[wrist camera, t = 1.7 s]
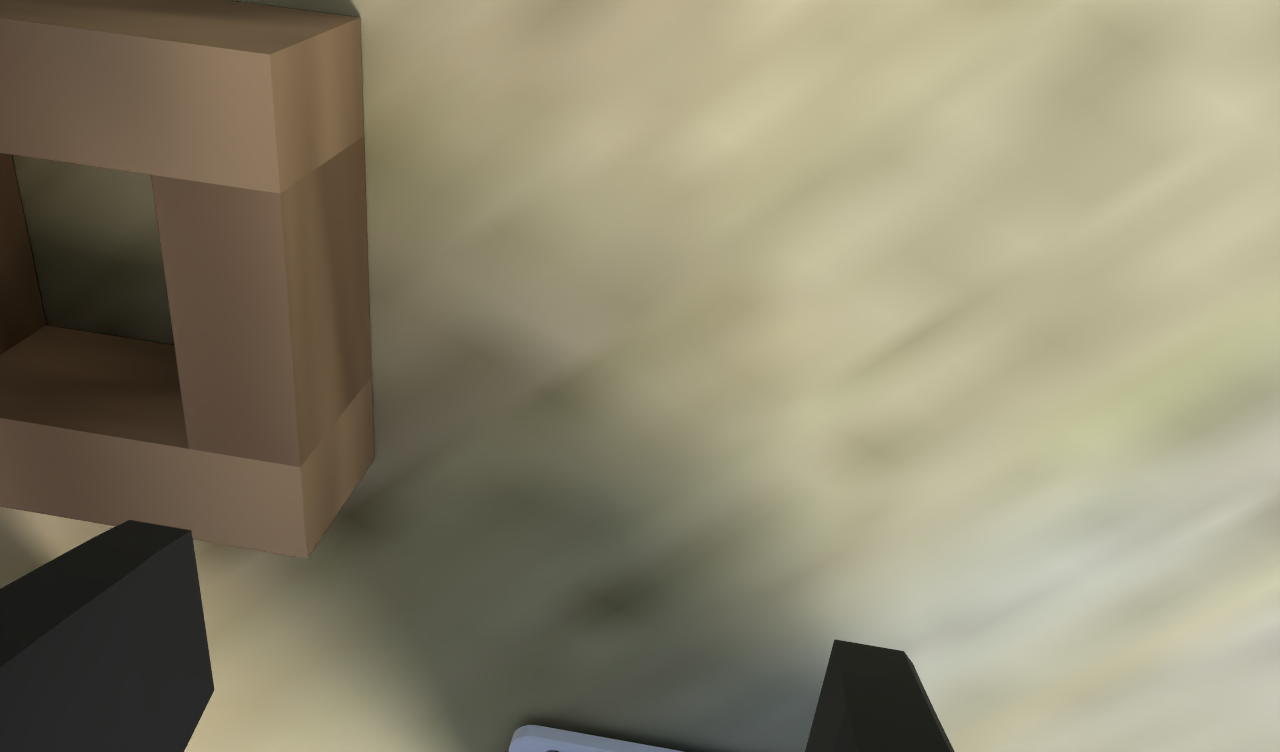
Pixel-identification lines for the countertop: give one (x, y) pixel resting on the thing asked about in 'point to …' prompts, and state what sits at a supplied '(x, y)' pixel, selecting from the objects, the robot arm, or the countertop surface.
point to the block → (195, 269)
